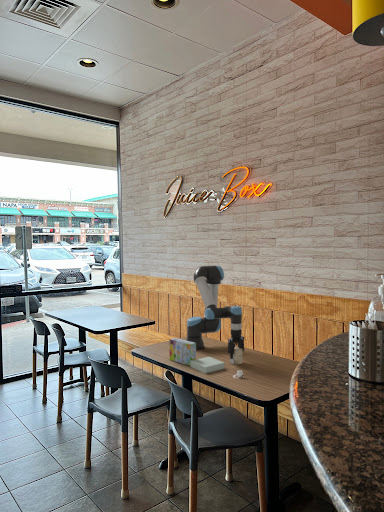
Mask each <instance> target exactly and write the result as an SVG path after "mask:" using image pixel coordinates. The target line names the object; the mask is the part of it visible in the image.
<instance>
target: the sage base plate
mask: <svg viewBox="0 0 384 512" xmlns="http://www.w3.org/2000/svg"><path fill="white" fill-rule="evenodd" d="M190 368H192V369H195V370H196V371H199V372H200V373H203V374H208V373H212V372H217V371H219V370H223V369H225V362H224V361H221V360H219V359H216V358H214V357H211V356H206V357H202V358H201V357H200V358H198V359H197V358H196V360H192V361H191V366H190Z"/></svg>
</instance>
